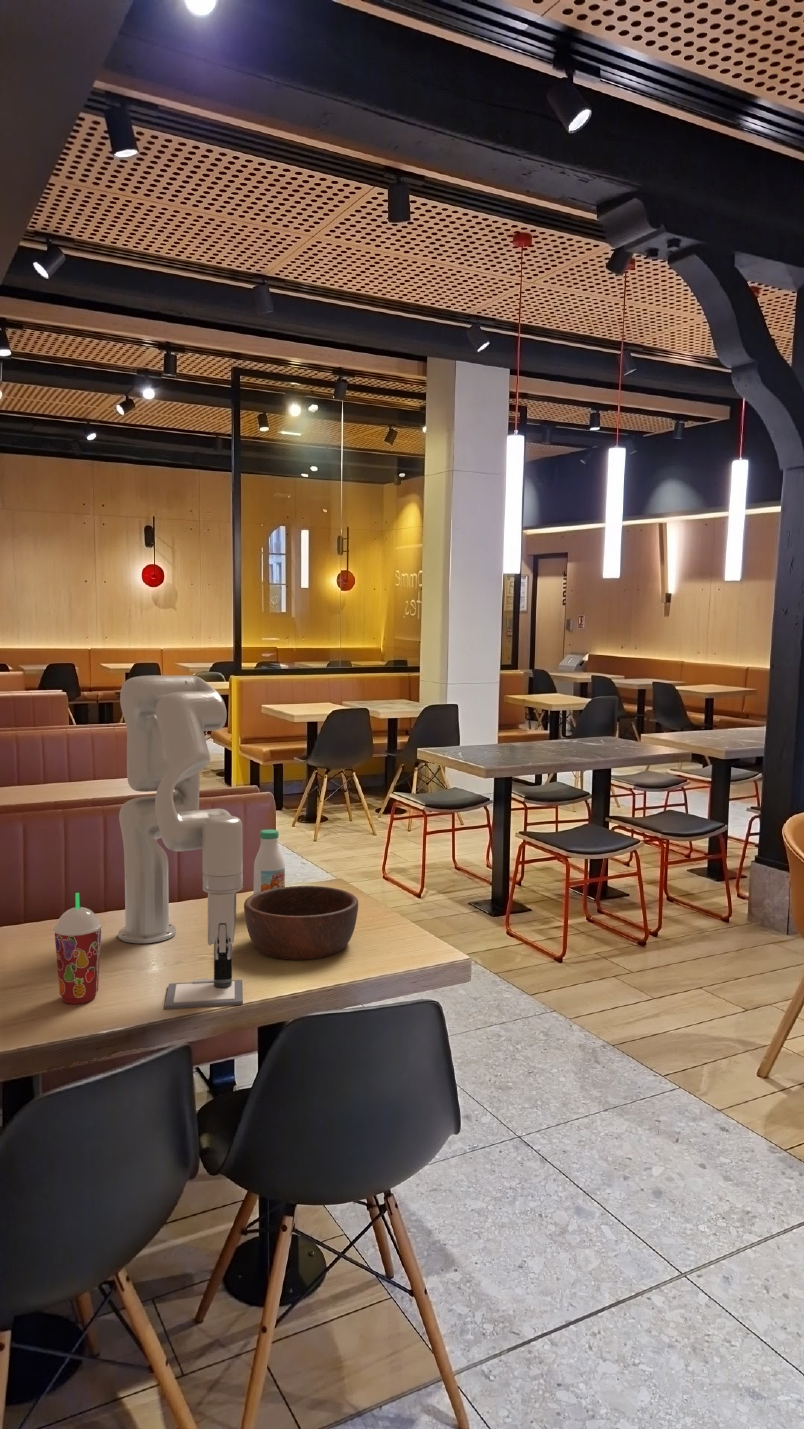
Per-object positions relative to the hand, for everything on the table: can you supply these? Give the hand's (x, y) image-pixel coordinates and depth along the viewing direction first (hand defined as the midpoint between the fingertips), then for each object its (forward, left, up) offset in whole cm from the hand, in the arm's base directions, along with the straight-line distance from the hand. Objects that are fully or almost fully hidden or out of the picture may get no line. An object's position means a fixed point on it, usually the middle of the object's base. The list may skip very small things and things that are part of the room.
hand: (223, 974), depth 175 cm
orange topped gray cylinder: (0, 0, -2) cm, 2 cm away
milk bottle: (-52, +11, -3) cm, 53 cm away
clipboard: (+2, -3, -3) cm, 5 cm away
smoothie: (0, -26, -3) cm, 27 cm away
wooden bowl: (-24, +17, -3) cm, 29 cm away
